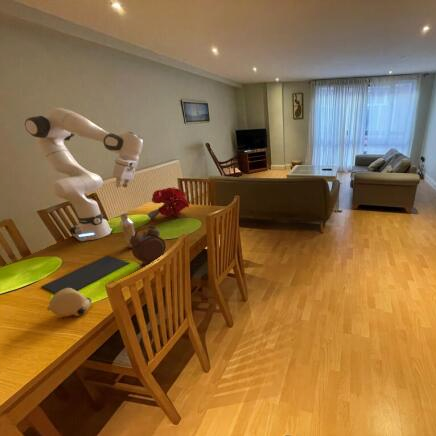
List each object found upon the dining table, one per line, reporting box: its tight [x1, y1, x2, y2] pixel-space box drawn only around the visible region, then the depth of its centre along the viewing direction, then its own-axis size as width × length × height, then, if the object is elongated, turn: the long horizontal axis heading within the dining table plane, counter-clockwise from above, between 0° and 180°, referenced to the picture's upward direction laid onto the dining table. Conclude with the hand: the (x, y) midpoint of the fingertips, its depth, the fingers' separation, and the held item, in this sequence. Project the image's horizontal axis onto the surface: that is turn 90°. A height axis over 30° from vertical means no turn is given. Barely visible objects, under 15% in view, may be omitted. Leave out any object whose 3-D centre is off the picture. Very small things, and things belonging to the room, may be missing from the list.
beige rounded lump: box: [46, 288, 93, 319], centre depth 91 cm, size 10×12×11 cm
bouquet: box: [146, 186, 190, 220], centre depth 180 cm, size 22×24×30 cm
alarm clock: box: [130, 225, 166, 266], centre depth 122 cm, size 15×7×20 cm, turn 150°
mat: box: [41, 255, 129, 295], centre depth 116 cm, size 18×28×1 cm, turn 156°
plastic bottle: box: [119, 213, 136, 249], centre depth 137 cm, size 6×7×20 cm
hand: (121, 187), depth 131 cm, fingers open, 8 cm apart
